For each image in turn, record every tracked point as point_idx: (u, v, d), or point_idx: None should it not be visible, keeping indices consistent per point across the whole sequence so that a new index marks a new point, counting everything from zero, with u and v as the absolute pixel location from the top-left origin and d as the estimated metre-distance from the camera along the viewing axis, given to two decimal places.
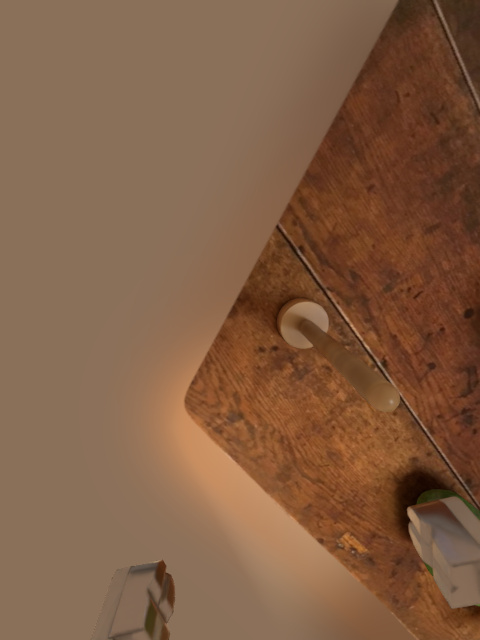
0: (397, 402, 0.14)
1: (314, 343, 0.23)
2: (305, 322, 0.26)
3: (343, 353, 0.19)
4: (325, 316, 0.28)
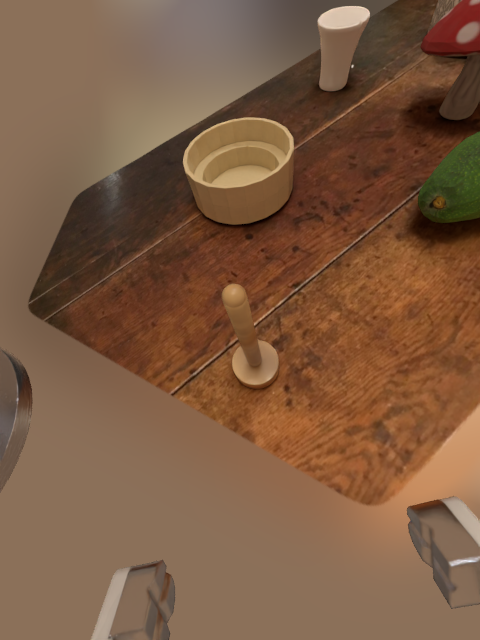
0: (231, 285, 0.16)
1: (250, 352, 0.24)
2: (247, 361, 0.28)
3: (234, 329, 0.21)
4: None
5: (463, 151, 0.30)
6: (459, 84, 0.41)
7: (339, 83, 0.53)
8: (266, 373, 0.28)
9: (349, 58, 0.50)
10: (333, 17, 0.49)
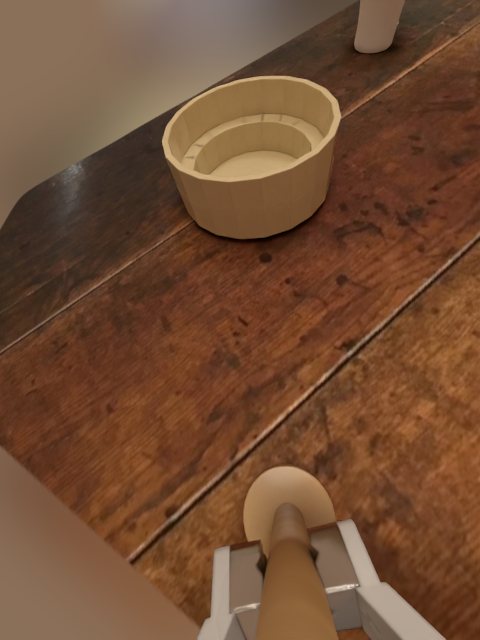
0: None
1: None
2: None
3: None
4: (269, 474, 0.16)
5: None
6: None
7: (384, 41, 0.39)
8: None
9: (401, 2, 0.36)
10: None
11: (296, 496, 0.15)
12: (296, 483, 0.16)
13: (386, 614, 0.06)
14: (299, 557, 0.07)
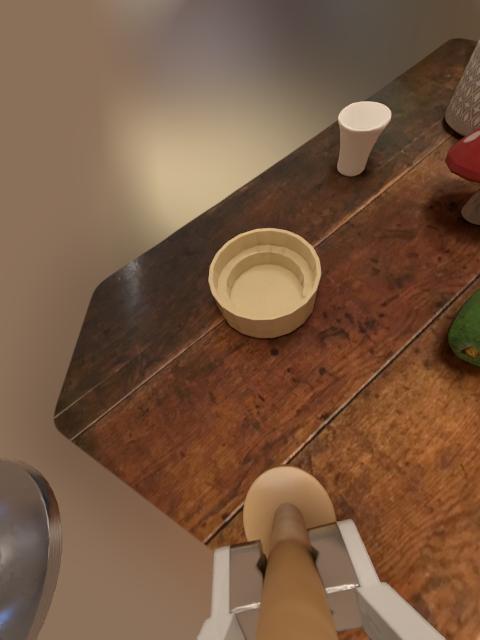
0: None
1: None
2: None
3: None
4: (269, 474, 0.16)
5: None
6: None
7: (358, 170, 0.53)
8: None
9: (369, 150, 0.50)
10: (353, 111, 0.49)
11: (296, 496, 0.15)
12: (296, 483, 0.16)
13: (386, 614, 0.06)
14: (299, 558, 0.07)
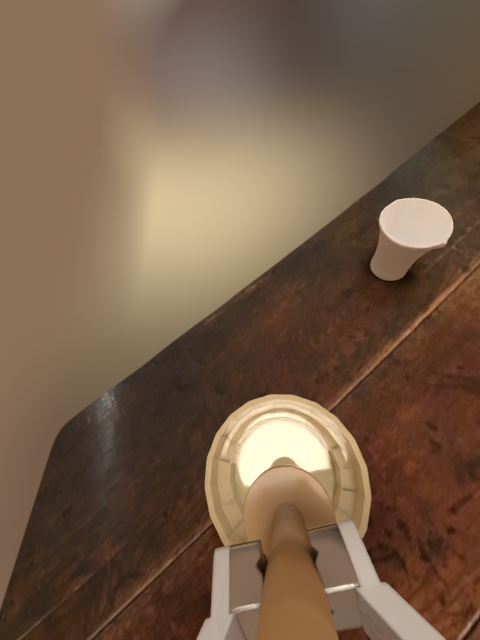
0: None
1: None
2: None
3: None
4: (269, 474, 0.16)
5: None
6: None
7: (399, 276, 0.41)
8: None
9: (417, 258, 0.38)
10: (397, 208, 0.37)
11: (296, 496, 0.15)
12: (296, 483, 0.16)
13: (386, 614, 0.06)
14: (299, 558, 0.07)
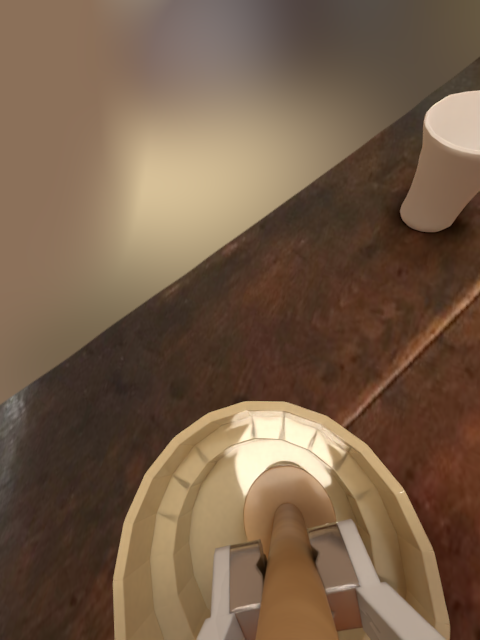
0: None
1: None
2: None
3: None
4: (269, 474, 0.16)
5: None
6: None
7: (446, 223, 0.28)
8: None
9: (479, 190, 0.25)
10: (450, 110, 0.24)
11: (296, 496, 0.15)
12: (296, 483, 0.16)
13: (386, 614, 0.06)
14: (299, 557, 0.07)
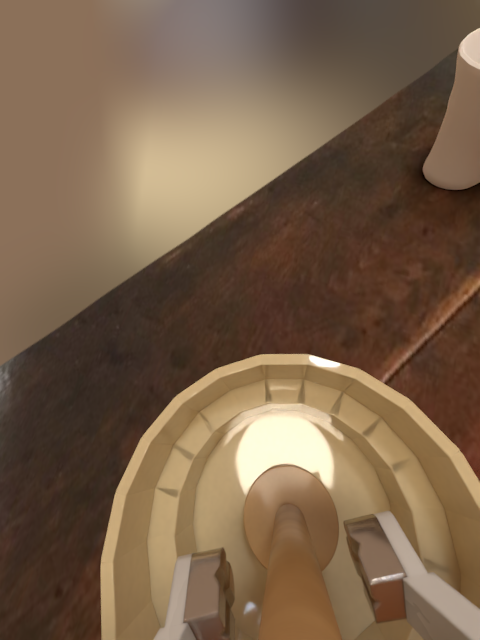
0: None
1: None
2: None
3: None
4: (270, 474, 0.16)
5: None
6: None
7: (476, 178, 0.25)
8: (315, 552, 0.14)
9: None
10: None
11: (297, 496, 0.15)
12: (297, 483, 0.15)
13: (438, 604, 0.06)
14: (302, 560, 0.07)
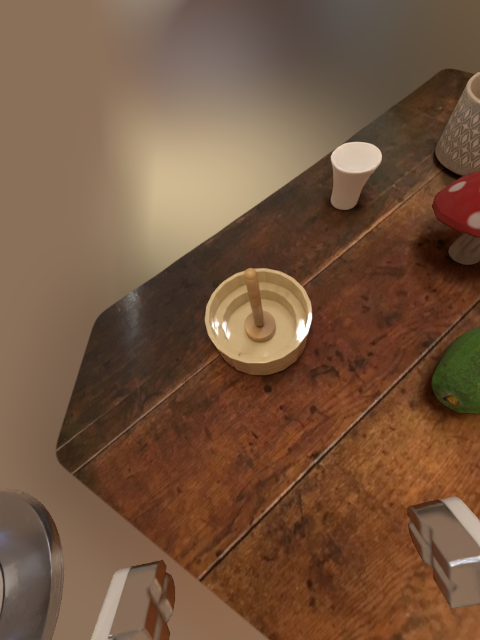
0: (249, 269, 0.32)
1: (257, 313, 0.39)
2: (254, 322, 0.43)
3: None
4: None
5: (475, 358, 0.32)
6: (468, 240, 0.43)
7: (350, 205, 0.55)
8: (267, 331, 0.43)
9: (361, 188, 0.52)
10: (345, 150, 0.51)
11: None
12: (262, 314, 0.45)
13: None
14: None
